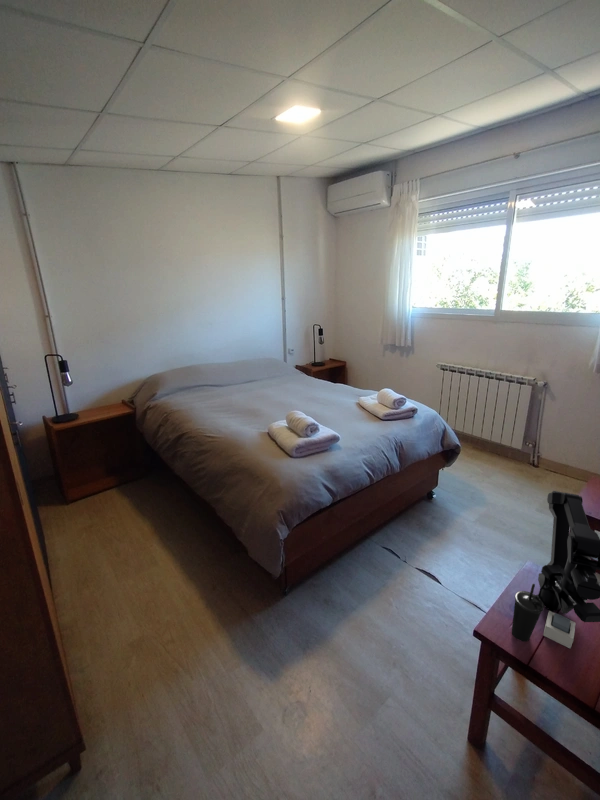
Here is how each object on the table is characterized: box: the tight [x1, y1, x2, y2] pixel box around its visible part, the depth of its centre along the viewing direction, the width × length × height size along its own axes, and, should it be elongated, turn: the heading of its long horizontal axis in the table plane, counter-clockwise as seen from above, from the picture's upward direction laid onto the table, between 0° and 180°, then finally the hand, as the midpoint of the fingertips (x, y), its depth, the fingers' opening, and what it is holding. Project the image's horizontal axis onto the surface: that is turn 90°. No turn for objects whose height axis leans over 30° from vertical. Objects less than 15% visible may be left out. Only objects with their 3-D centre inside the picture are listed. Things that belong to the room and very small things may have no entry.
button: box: [552, 612, 571, 633], centre depth 115 cm, size 4×4×3 cm
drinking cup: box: [511, 583, 545, 643], centre depth 113 cm, size 8×8×20 cm
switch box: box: [542, 610, 576, 649], centre depth 116 cm, size 7×7×4 cm
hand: (564, 612), depth 114 cm, fingers closed
